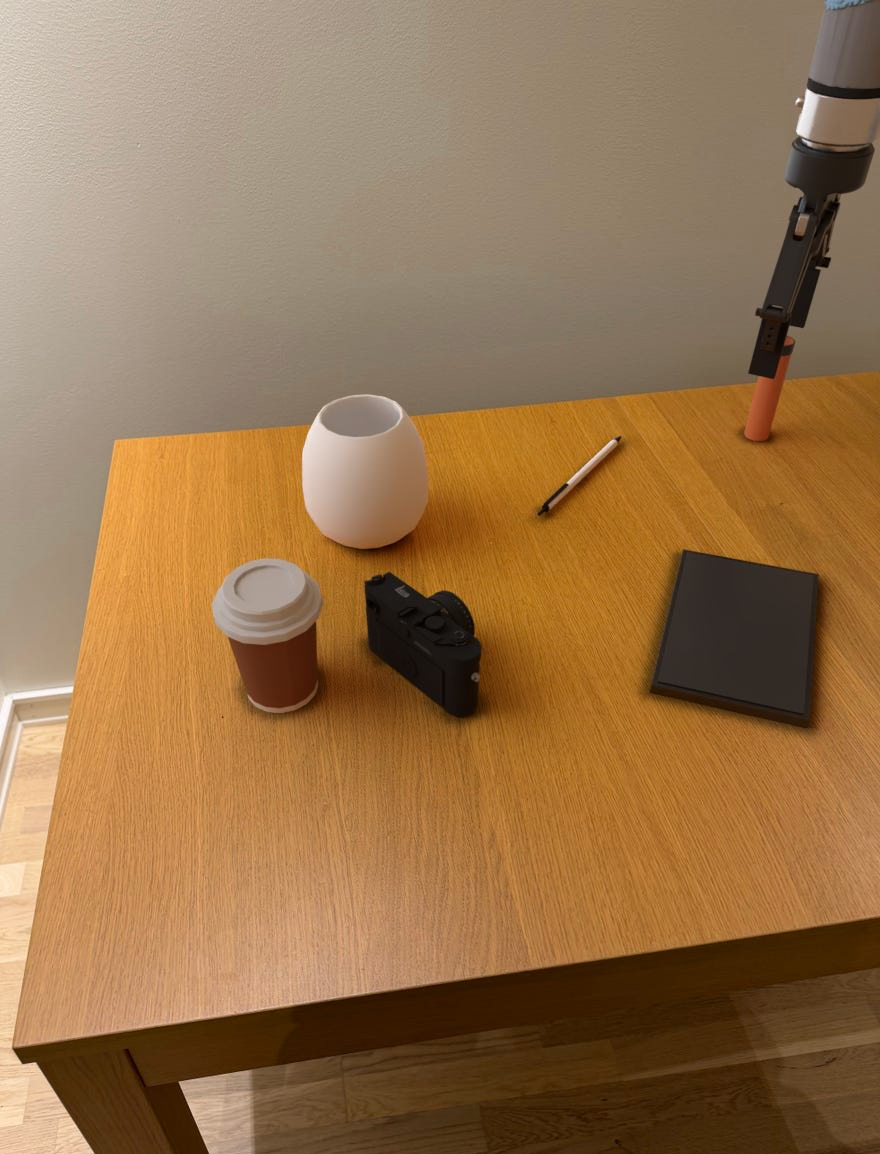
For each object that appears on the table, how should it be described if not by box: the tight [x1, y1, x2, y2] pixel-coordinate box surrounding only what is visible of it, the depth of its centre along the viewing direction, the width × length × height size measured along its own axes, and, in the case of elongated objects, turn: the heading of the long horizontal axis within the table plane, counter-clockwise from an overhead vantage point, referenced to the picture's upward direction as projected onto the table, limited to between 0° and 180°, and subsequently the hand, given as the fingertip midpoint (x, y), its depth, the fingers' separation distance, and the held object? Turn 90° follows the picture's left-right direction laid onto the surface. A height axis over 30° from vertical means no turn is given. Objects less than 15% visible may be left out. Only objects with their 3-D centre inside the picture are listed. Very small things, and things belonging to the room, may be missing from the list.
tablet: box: [649, 549, 820, 729], centre depth 85 cm, size 20×13×1 cm, turn 160°
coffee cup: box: [211, 557, 324, 714], centre depth 78 cm, size 9×9×12 cm
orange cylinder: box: [743, 335, 796, 442], centre depth 106 cm, size 3×3×12 cm
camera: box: [363, 571, 483, 718], centre depth 81 cm, size 14×7×8 cm, turn 41°
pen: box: [537, 435, 623, 517], centre depth 104 cm, size 1×19×1 cm, turn 142°
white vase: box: [301, 393, 430, 550], centre depth 95 cm, size 13×13×14 cm
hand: (777, 349), depth 103 cm, fingers open, 13 cm apart
